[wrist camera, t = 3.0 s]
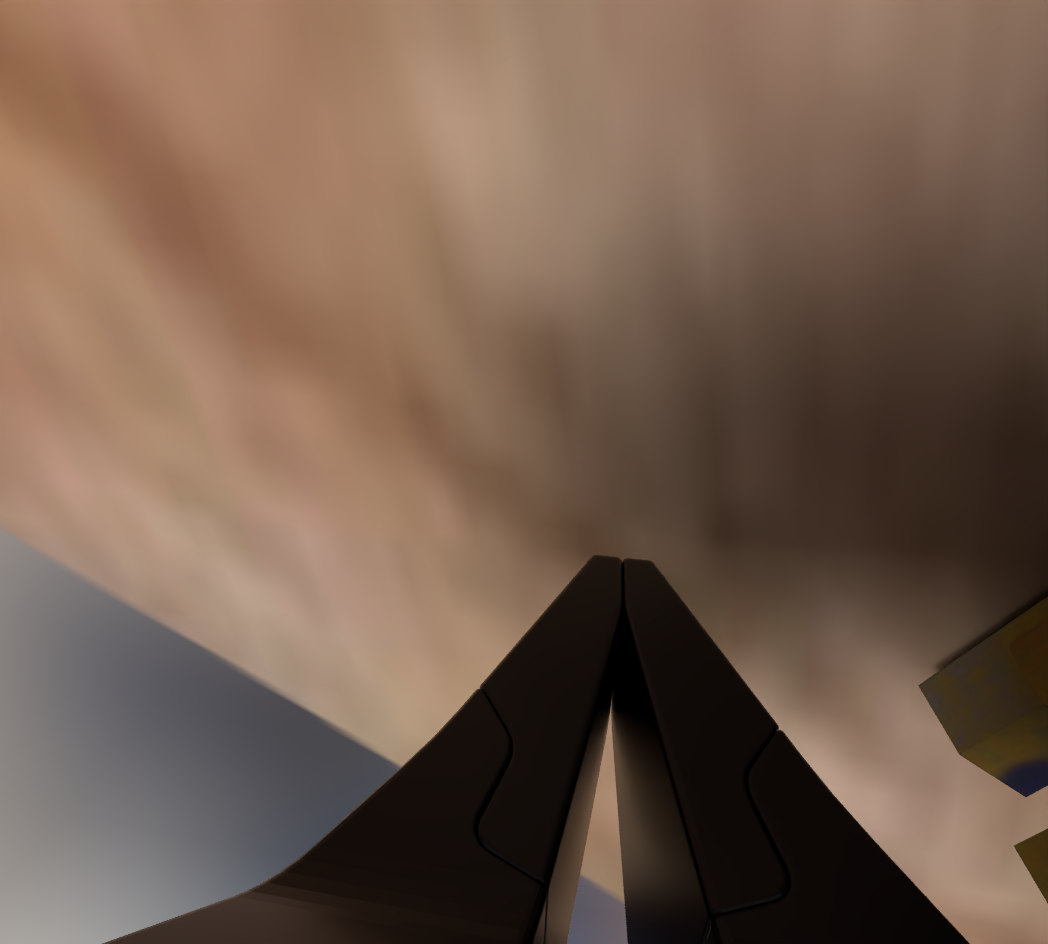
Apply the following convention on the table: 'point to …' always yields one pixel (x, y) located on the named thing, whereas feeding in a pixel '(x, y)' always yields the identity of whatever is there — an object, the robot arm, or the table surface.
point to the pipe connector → (1003, 714)
